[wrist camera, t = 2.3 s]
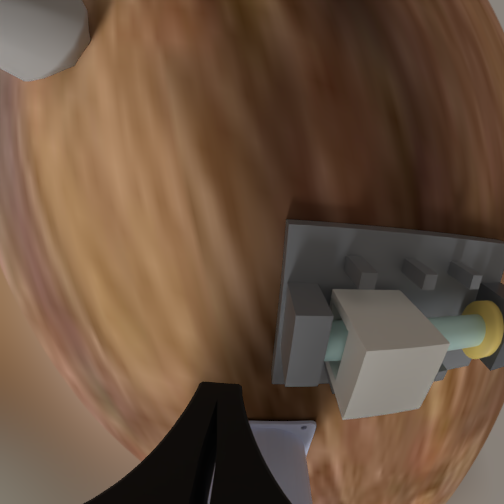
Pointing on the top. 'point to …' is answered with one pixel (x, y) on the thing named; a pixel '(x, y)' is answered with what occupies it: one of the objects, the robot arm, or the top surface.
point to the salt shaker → (41, 36)
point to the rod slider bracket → (379, 278)
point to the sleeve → (383, 353)
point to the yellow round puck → (493, 328)
